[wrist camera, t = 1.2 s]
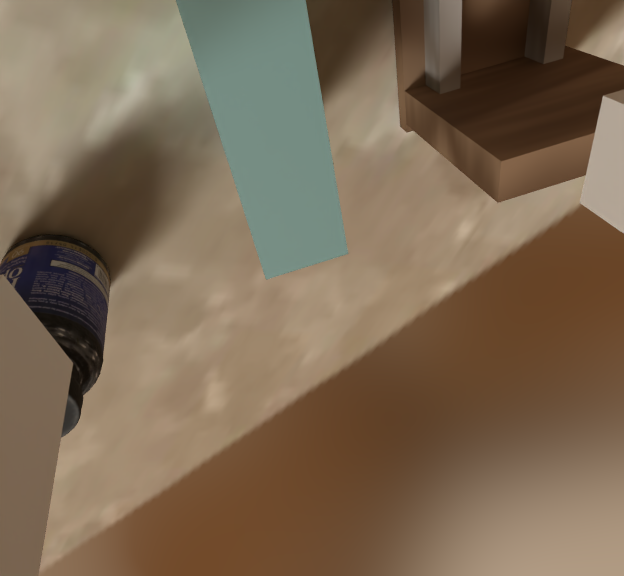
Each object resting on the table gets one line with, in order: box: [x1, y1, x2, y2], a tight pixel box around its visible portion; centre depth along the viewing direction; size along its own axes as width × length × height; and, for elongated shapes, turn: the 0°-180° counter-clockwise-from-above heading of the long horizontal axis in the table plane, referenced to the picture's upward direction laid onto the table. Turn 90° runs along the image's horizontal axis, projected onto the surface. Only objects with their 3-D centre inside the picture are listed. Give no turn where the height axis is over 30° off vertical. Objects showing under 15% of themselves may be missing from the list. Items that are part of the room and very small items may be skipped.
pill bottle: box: [0, 235, 111, 437], centre depth 26 cm, size 6×6×11 cm
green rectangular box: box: [176, 0, 348, 279], centre depth 20 cm, size 12×4×12 cm, turn 10°
